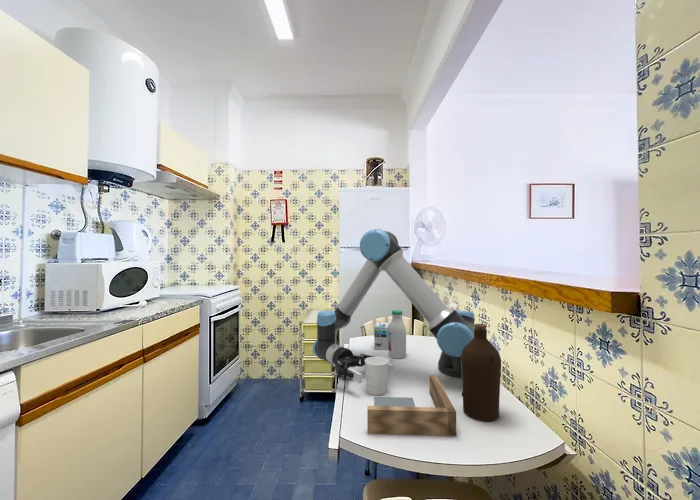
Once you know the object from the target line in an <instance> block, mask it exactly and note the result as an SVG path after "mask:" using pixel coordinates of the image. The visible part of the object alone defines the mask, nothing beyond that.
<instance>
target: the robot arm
mask: <svg viewBox="0 0 700 500" xmlns="http://www.w3.org/2000/svg"><path fill="white" fill-rule="evenodd" d="M359 251H360V253H361V255H362V256H363V258H365V259H366V261H365V262H364V264H363V265H362V267H361V269H360V270H359V272H358V274H357V275H356V276H355V278H354V280H353V281H352V283H351V284H350V286H349V287H348V290H347V291H346V293H345V294H344V296H343V297H342V299H340V302H339V303H338V305H337V307H336V308H335V309H334V311H333V310H323V311H322V310H321V311H318V313H317V317H316V332H317V333H316V337H317V339H316V340H315V341H314V342H313V344H312V353H313V355H315V356H316V357H317V358H318V359H320V360H322V361H324V362H327V363H329V364H331V365H332V368H333V369H334V370H335V372H336V373H335V374H336V376H337V378H342V377H343V380H347V379H348V378H349V379H351V380H353V381H355V382H357V383H359V384H361V383H363V379H362V378H363V374H362V373H360V372H359V371H356V370H355V369H352V368H355V367H363V366H364V367H365V359H366V358H369V357H377V356H374V355H371V354H370V355H369V354H365V353H360V355H356V354H354V353H353V351H351V349H349V348H346V347H344V346H342V345H339V344H337V343H336V342H337V341H336V340H337V337H336V336H337V331H339V330H341V329H343V328H346V327H347V326H348V325H349V324H350V322H351V321H352V319H351V318H352V317H353V315H354V313H355V312H356V310H357V308H358V307H359V305H360V304H361V302H362V301H363V300H364V299H365V296H366V295H367V293H368V291H369V290H371V287H372V285H373V284H374V282H375V281H376V279H378V276H379V275H380V273H382V272H385V273H386V274H387V275H388V277H390V280H392V281H393V283H394V284H395V285H396V286H397V287H398V288H399V289H400V290H401V292H402V293H403V294H404V295H405V297H406V298H407V299H408V300H409V301H410V303H411V304H412V305H413V306H414V308H416V310H417V311H418V312H419V314H420V315H422V317H423V318H424V320H426V322H427V323H428V328H427V329H428V330H429V332H430V333H431V334H432V336H434V338H435V339H436V343H437V346H438V347H439V349H440V350H441V352H440V357H439V360H438V363H437V366H438V367H437V369H438V370H439V372H440V373H443V374H445V375H446V376H451V377H455V378H462V373H461V353H462V350H463V348H464V347H465V346H466V345H467V344H468V343H469V342H470V341H471V340H472V339H473V338H474V329H475V327H474V324H475V321H476V319H475V313H474V312H472V311H469V310H456V309H455V308H453V307H448V306H447V305H446V304H445V303H444V302H443V301H442V300H441V299H440V297H439V296H438V295H437V294H436V292H435V291H434V290H433V289H432V288H431V287H430V285H428V283H427V282H426V281H425V280H424V279H423V278H422V277H421V275H420V274H419V273H418V272H417V271H416V269H415V268H413V266H412V265H411V264H410V263H409V261H407V259H406V258H405V257H404V254H403V253H404V250H403V248H401V246H400V245H399V240H398V238H397V237H396V235H395V234H394V233H392V232H390V231H387V230H383V229H380V228H374V229H371V230H370V229H369V230H368V231H365V232H364V234H363V235H362V237H361V238H360V241H359ZM393 373H394V365H393V364H392V363H389V366H388V374H393Z"/></svg>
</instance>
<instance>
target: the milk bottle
mask: <svg viewBox="0 0 700 500" xmlns="http://www.w3.org/2000/svg"><path fill="white" fill-rule="evenodd" d="M391 316H392V318H391V322H389V323H390V326H389V333H388V350H387V351H388V356H389V358H393V359H405V358H406V357H407V329H406V328H407V327H406V325H405V323H404V320H403V310H401V309H393V310H391Z"/></svg>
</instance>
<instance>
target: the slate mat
mask: <svg viewBox="0 0 700 500" xmlns="http://www.w3.org/2000/svg"><path fill="white" fill-rule="evenodd" d="M373 404H374V405H373V406H398V407H416V405H415V401H414V398H413V397H405V396H404V397H400V396H395V397H394V396H373Z"/></svg>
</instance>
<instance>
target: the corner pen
mask: <svg viewBox="0 0 700 500" xmlns="http://www.w3.org/2000/svg"><path fill="white" fill-rule="evenodd" d="M429 396H430V397H431V400H432V402H433V404H434V407H433V406H431V407H430V406H428V407H426V406H425V407H424V406H415V407H398V406H374V405H367V408H366V409H367V410H366V411H367V412H366V413H367V417H366V418H367V421H366V422H367V425H366V426H367V427H366V428H367V430H366V431H367V434H375V435H377V434H378V435H379V434H380V435H405V436H407V435H409V436H439V437H443V436H444V437H445V436H446V437H457V410H456V409H455V407H454V405H453V404H452V401H451V400H450V398H449V396H448V394H447V393H446V390H445V389H444V387H443V385H442V384H441V381H440V380H439V378H438V377H437V375H436V374H429Z"/></svg>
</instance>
